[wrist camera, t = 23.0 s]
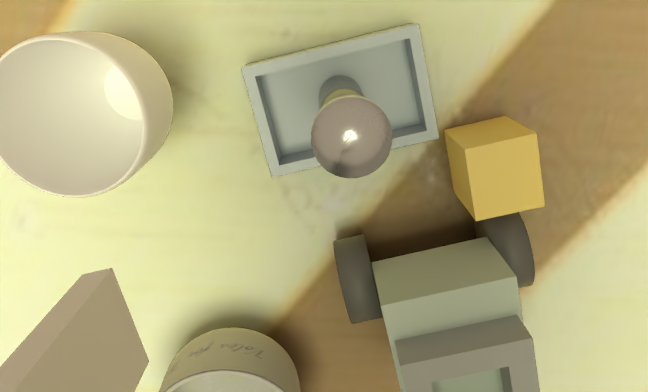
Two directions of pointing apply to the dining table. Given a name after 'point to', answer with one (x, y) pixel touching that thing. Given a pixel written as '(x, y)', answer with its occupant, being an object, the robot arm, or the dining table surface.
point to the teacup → (231, 364)
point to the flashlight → (349, 130)
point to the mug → (81, 111)
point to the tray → (347, 60)
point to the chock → (495, 167)
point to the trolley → (450, 308)
